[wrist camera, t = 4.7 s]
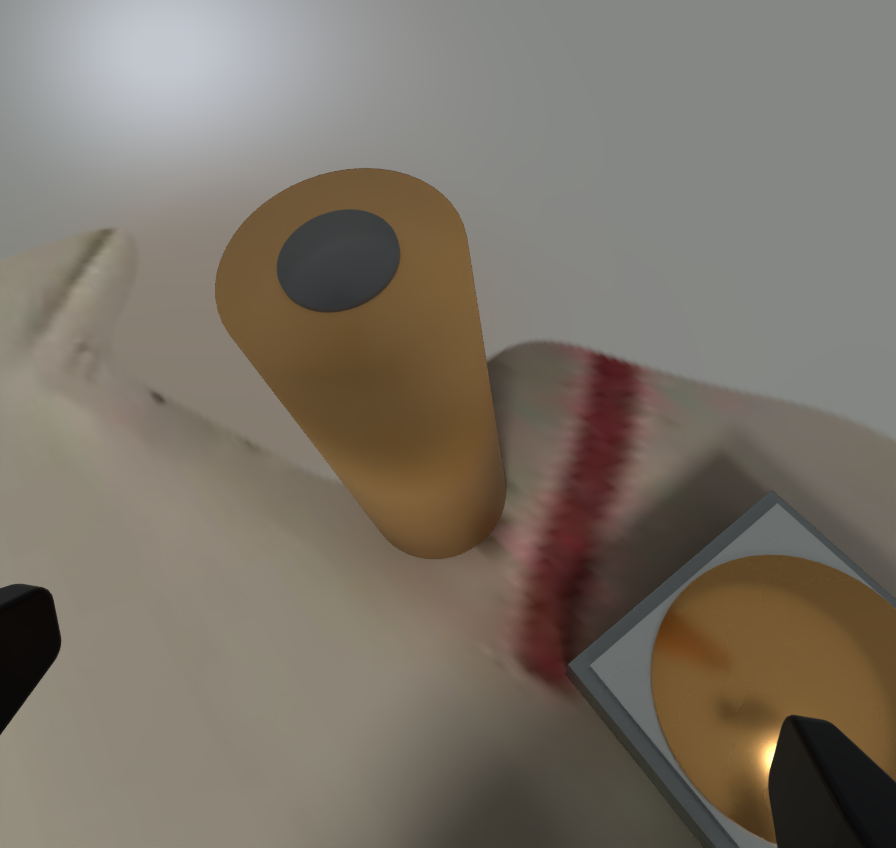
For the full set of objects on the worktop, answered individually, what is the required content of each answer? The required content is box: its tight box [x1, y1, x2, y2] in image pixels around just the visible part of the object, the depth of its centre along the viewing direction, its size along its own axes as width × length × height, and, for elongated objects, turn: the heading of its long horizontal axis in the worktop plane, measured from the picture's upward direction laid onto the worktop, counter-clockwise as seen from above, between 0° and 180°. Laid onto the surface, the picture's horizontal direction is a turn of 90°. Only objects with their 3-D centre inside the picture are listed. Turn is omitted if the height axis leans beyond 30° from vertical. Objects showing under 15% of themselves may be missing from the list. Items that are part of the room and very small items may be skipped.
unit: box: [566, 490, 896, 848], centre depth 18 cm, size 8×8×3 cm
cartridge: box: [215, 168, 506, 559], centre depth 18 cm, size 5×5×13 cm
